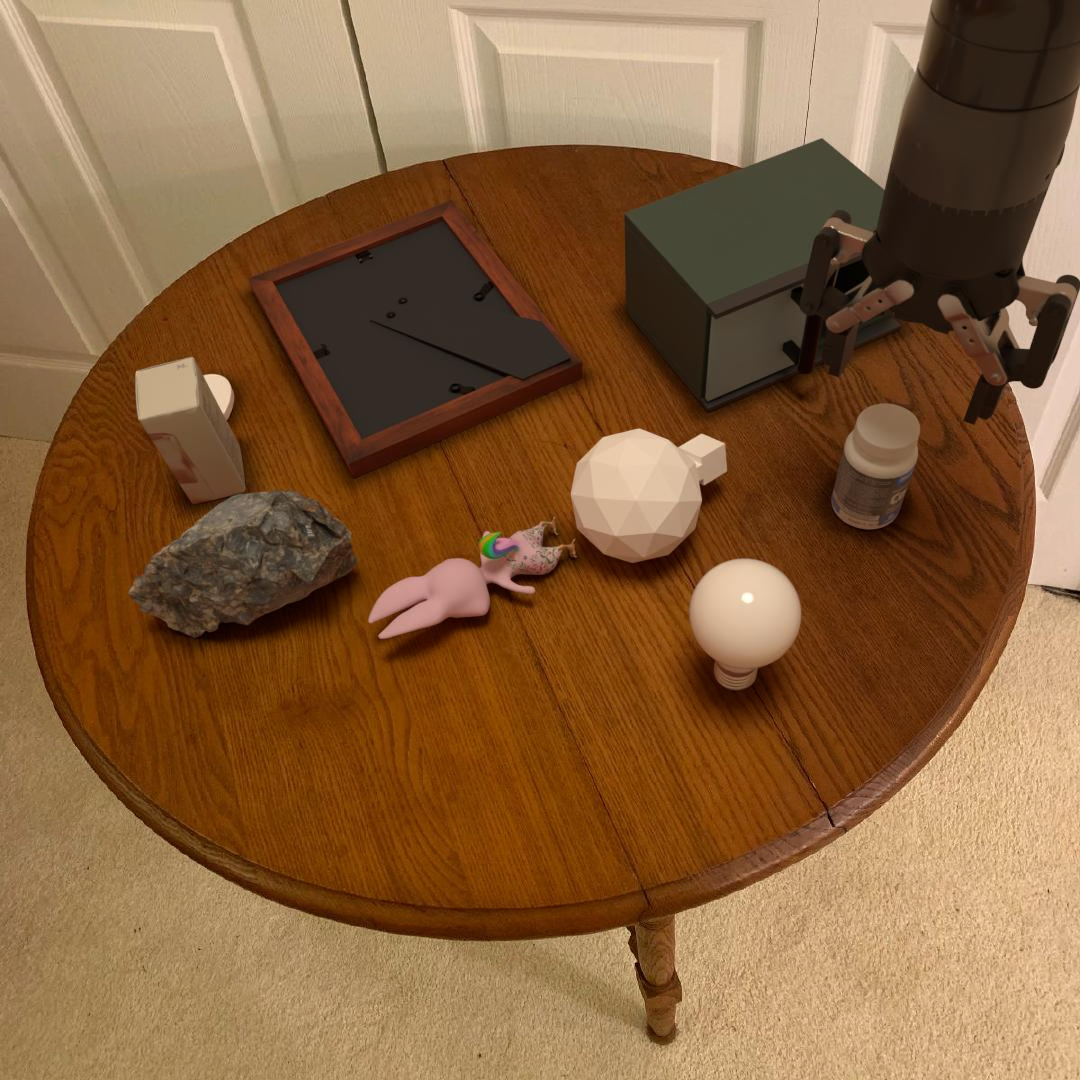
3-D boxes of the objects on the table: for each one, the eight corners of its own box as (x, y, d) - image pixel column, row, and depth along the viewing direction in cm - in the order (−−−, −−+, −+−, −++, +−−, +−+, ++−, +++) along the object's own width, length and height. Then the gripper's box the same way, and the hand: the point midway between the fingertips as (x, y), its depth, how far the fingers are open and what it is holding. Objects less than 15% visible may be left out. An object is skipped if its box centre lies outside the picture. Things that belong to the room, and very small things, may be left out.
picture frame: (583, 377, 80) (454, 215, 94) (581, 359, 79) (450, 197, 92) (354, 478, 76) (253, 293, 90) (347, 461, 75) (246, 275, 88)
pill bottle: (894, 537, 69) (922, 460, 62) (825, 523, 70) (845, 445, 63) (903, 485, 72) (931, 405, 65) (836, 472, 73) (856, 392, 66)
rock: (198, 709, 66) (136, 633, 58) (143, 607, 71) (79, 524, 63) (383, 598, 70) (349, 512, 62) (318, 509, 75) (279, 419, 67)
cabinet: (900, 329, 81) (929, 226, 72) (707, 412, 77) (715, 314, 69) (805, 240, 88) (822, 137, 80) (625, 312, 84) (623, 212, 76)
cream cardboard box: (186, 459, 79) (134, 367, 71) (241, 445, 79) (195, 353, 71) (189, 509, 76) (135, 419, 68) (246, 495, 76) (199, 404, 68)
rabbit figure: (539, 528, 74) (354, 611, 68) (544, 471, 69) (346, 555, 63) (587, 585, 70) (397, 678, 65) (595, 530, 66) (392, 625, 60)
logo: (238, 426, 80) (229, 360, 85) (235, 420, 79) (226, 353, 84) (158, 447, 80) (153, 379, 84) (154, 440, 79) (150, 372, 83)
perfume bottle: (635, 608, 65) (763, 524, 70) (617, 492, 60) (756, 410, 65) (555, 556, 71) (677, 482, 76) (532, 447, 66) (665, 375, 71)
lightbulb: (663, 676, 64) (667, 584, 55) (729, 616, 67) (743, 518, 58) (739, 741, 61) (756, 655, 52) (805, 676, 64) (832, 582, 55)
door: (825, 385, 77) (843, 301, 70) (729, 427, 75) (738, 345, 68) (799, 357, 79) (814, 273, 72) (704, 398, 77) (711, 315, 70)
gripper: (803, 162, 50) (772, 391, 63) (1104, 243, 44) (1001, 474, 57) (862, 86, 53) (821, 318, 66) (1148, 152, 48) (1041, 390, 61)
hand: (905, 390), depth 62 cm, fingers open, 8 cm apart
